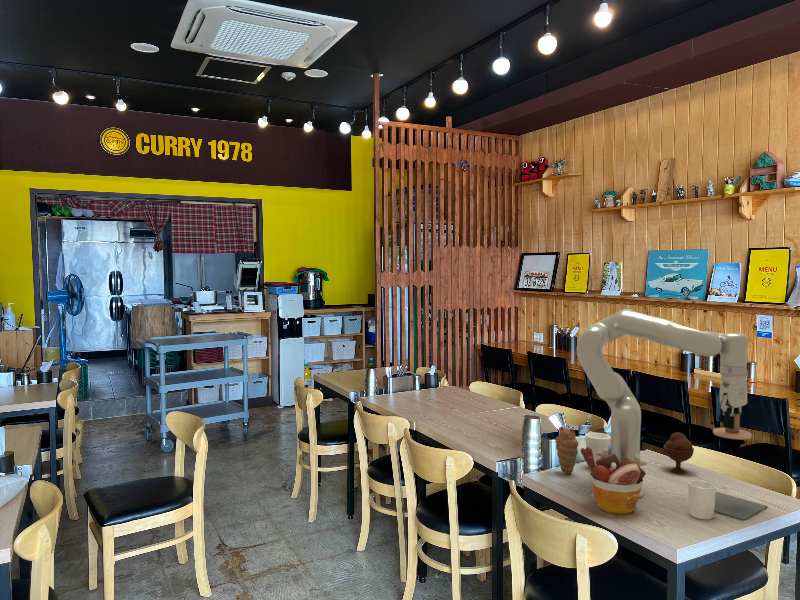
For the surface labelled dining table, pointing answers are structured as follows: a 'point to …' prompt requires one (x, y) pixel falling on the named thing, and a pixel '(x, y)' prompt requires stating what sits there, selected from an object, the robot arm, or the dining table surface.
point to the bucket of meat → (615, 481)
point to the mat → (736, 506)
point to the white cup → (701, 499)
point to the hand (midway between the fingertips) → (731, 426)
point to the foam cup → (597, 443)
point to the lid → (733, 431)
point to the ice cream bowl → (678, 451)
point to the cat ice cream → (567, 449)
